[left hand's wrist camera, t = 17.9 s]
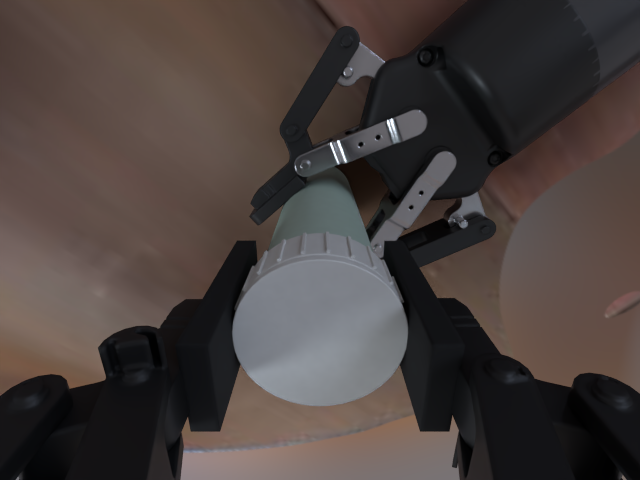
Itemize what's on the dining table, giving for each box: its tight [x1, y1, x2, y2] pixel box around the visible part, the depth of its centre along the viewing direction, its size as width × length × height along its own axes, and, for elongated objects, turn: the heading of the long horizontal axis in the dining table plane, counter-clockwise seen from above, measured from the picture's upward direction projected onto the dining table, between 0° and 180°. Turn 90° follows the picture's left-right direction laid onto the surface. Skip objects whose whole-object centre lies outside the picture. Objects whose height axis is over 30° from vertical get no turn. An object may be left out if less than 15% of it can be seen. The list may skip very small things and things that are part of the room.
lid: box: [232, 232, 408, 406], centre depth 11 cm, size 5×5×2 cm
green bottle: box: [268, 167, 373, 252], centre depth 19 cm, size 5×5×17 cm
